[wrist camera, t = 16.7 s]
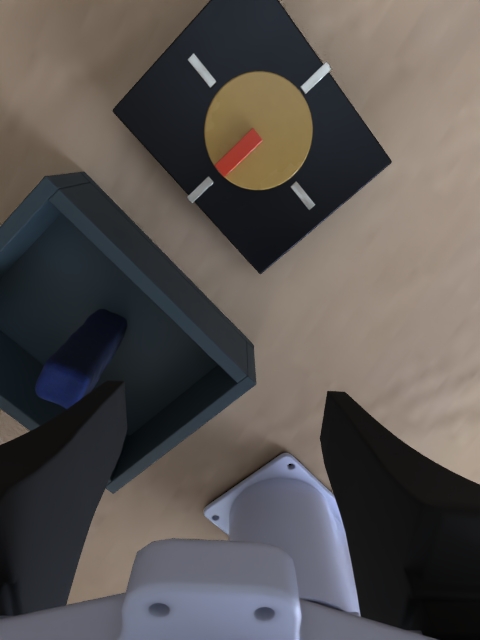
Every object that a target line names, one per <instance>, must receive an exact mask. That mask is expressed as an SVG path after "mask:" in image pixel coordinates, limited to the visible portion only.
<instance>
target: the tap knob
mask: <svg viewBox="0 0 480 640" xmlns="http://www.w3.org/2000/svg"><path fill="white" fill-rule="evenodd" d="M312 134H313V125H312V117H311V113H310V110H309V107H308V104H307V102H306V100H305V98H304V97H303V95H302V94H301V92H300V91H299V90H298V89H297V87H296V86H295V85H293V84H292V83H291V82H290V81H289V80H287V79H286V78H284V77H282V76H280V75H278V74H275V73H271V72H266V71H253V72H247V73H244V74H241V75H239V76H237V77H235V78H233V79H231V80H230V81H229V82H227V83H226V84H225V85H224V86H223V87H222V88H221V89H220V90H219V91H218V92H217V94H216V95H215V97H214V98H213V100H212V102H211V104H210V106H209V108H208V111H207V114H206V119H205V127H204V137H205V144H206V148H207V152H208V154H209V157H210V159H211V161H212V163H213V165H214V166H215V168H216V169H217V170H218V172H219V173H220V174H221V175H222V176H223V177H224V178H226V179H227V180H228V181H230V182H231V183H233V184H235V185H237V186H239V187H242V188H245V189H250V190H265V189H270V188H273V187H276V186H278V185H281V184H282V183H284V182H286V181H287V180H289V179H290V178H291V177H292V176H293V175H294V174H295V173H296V172H297V171H298V170H299V169H300V167H301V166H302V164H303V163H304V161H305V159H306V157H307V155H308V153H309V150H310V146H311V142H312Z"/></svg>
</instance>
